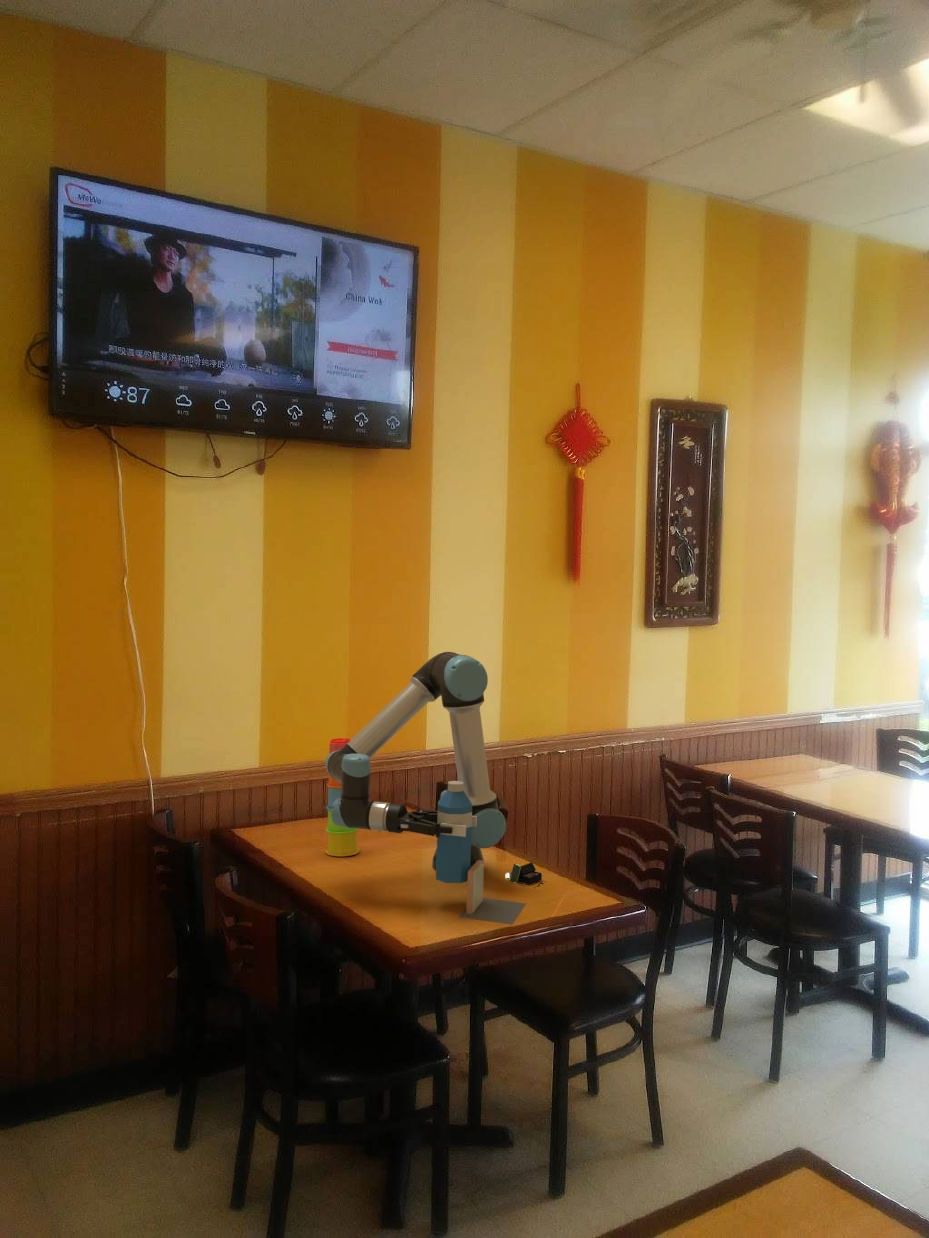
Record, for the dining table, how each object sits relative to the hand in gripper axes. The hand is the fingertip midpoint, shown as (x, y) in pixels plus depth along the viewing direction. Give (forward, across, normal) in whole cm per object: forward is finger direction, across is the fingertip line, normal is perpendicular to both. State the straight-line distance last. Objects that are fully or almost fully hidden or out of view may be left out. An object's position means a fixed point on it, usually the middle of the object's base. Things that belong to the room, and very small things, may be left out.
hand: (471, 826), depth 263 cm
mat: (+6, -1, -22) cm, 23 cm away
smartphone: (+9, -29, -23) cm, 38 cm away
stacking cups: (-50, -34, -22) cm, 64 cm away
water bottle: (-4, 0, -14) cm, 15 cm away
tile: (+1, 0, -21) cm, 21 cm away
